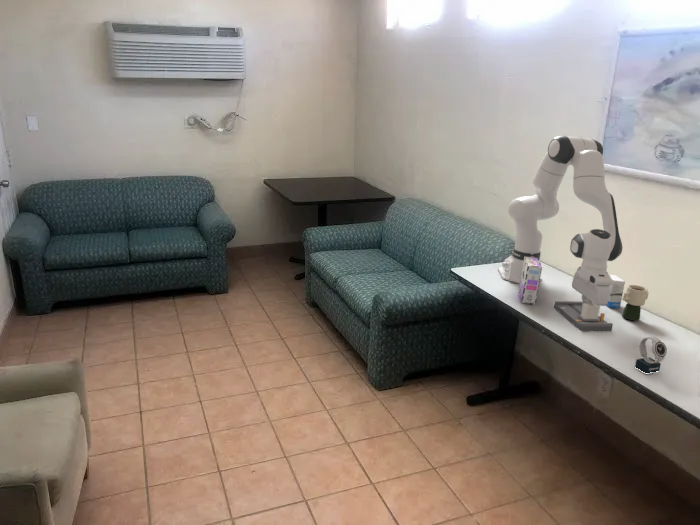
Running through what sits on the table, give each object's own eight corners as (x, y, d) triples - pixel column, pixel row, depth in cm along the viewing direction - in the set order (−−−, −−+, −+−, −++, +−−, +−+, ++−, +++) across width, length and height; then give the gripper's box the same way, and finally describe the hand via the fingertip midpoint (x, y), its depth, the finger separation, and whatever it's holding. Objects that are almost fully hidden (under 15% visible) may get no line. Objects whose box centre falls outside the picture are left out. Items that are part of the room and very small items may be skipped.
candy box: (535, 305, 224) (542, 267, 219) (521, 303, 225) (527, 265, 220) (532, 293, 237) (538, 257, 232) (518, 292, 238) (524, 255, 233)
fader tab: (578, 316, 209) (581, 302, 207) (593, 316, 209) (596, 302, 208) (583, 321, 205) (586, 306, 203) (599, 321, 206) (602, 306, 204)
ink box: (620, 308, 226) (626, 281, 222) (608, 308, 226) (614, 281, 222) (610, 300, 234) (616, 274, 231) (599, 300, 234) (604, 274, 231)
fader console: (553, 307, 222) (555, 296, 221) (581, 308, 224) (583, 296, 222) (580, 331, 201) (583, 318, 200) (611, 331, 203) (614, 318, 201)
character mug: (635, 314, 220) (642, 284, 216) (648, 321, 214) (656, 290, 210) (612, 315, 218) (619, 284, 214) (625, 323, 211) (632, 291, 207)
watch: (651, 377, 170) (659, 345, 167) (630, 365, 177) (637, 334, 174) (664, 375, 172) (672, 343, 169) (643, 363, 179) (650, 332, 176)
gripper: (571, 264, 215) (565, 297, 219) (599, 282, 196) (591, 318, 200) (586, 265, 216) (580, 297, 220) (615, 282, 196) (608, 318, 200)
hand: (585, 307), depth 210 cm, fingers closed
